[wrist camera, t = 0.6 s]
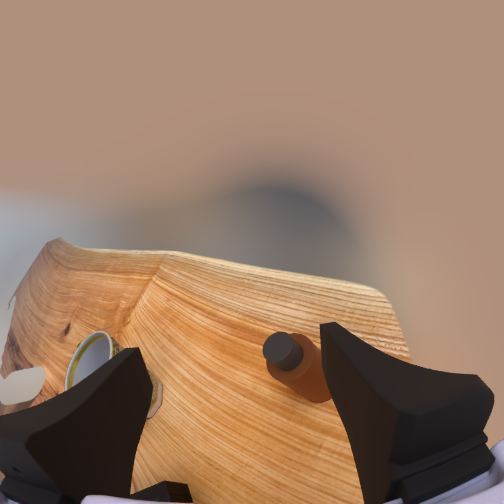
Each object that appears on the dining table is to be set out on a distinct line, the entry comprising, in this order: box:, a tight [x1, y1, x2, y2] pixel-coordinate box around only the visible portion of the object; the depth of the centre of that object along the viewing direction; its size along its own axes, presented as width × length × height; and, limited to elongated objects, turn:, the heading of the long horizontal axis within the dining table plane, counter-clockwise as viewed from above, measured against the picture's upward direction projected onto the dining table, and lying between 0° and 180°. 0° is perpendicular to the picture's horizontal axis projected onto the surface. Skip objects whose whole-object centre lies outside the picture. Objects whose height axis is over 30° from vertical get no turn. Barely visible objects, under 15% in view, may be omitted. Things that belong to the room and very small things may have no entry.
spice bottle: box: [263, 332, 332, 403], centre depth 25 cm, size 4×4×9 cm
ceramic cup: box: [65, 331, 163, 418], centre depth 36 cm, size 13×10×10 cm
